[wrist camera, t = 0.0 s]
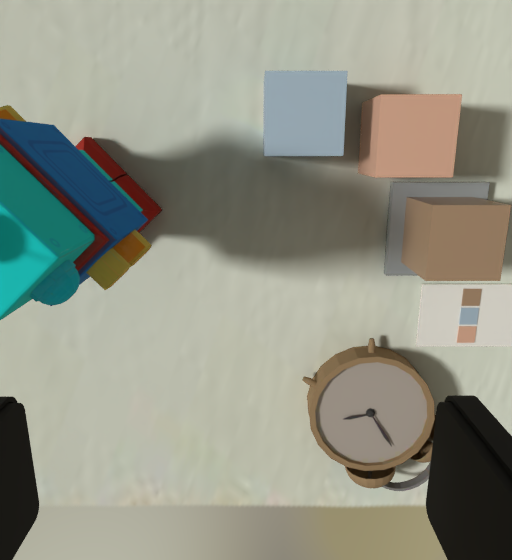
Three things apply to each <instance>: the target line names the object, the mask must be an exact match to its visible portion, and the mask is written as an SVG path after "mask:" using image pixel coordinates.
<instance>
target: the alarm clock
mask: <svg viewBox="0 0 512 560" xmlns="http://www.w3.org/2000/svg"><path fill="white" fill-rule="evenodd" d="M303 381H304V382H305V383H307V384H308V385H310V388H309V391H308V395H307V400H308V412H309V416H310V426H311V430H312V432H313V435H314V437H315V439H316V441H317V443H318V445H319V446H320V447H321V448H322V449H323V451H324V452H325V453H326V454H327V455H328V456H329V457H330V458H331V459H333V460H335V461H337V462H339V463H340V464H342V465H344V466H345V468H346V471H347V473H348V475H349V477H350V478H351V479H352V480H353V481H354V482H355V483H356V484H358V485H360V486H363V487H366V488H379V487H384V488H386V489H389V490H394V491H405V490H409V489H413V488H415V487H418V486H420V485H421V484H423V483H424V482H425V481H427V480H428V479H429V472H430V463H431V455H432V446H433V437H434V429H435V420H436V415H435V414H434V400H433V398H432V395H431V393H430V390H429V388H428V385H427V384H426V383H425V381H424V380H423V379H422V378H421V377H420V375H419V373H418V372H417V370H416V369H415V368H414V367H413V366H412V365H411V364H410V362H409V361H408V360H407V359H406V358H405V357H403V356H401V355H400V354H398V353H396V352H394V351H392V350H391V349H387V348H382V347H377V346H375V341H374V339H373V338H370V339H369V344H368V346H361V347H353V348H350V349H348V350H345V351H343V352H340V353H338V354H335V355H334V356H333V357H332V358H330V359H329V360H328V361H327V362H325V363H324V364H323V365H322V366H321V367H320V368H319V370H318V371H317V373H316V374H315V376H314V377H313V379H311V378H308V377H303ZM409 458H411V459H413V460H415V461H418V462H430V463H429V465H428V467H427V468H426V469H425V470H424V471H423V472H422V473H421V474H420V475H418V476H417V477H415V478H413V479H411V480H408V481H404V482H400V483H393V482H390V481H391V480H392V478H393V476H394V473H395V468H396V467H395V466H396V465H399V464H402V463H404V462H405V461H406V460H408V459H409Z"/></svg>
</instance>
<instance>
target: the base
mask: <svg viewBox="0 0 512 560" xmlns="http://www.w3.org/2000/svg"><path fill="white" fill-rule="evenodd" d="M489 183H490V182H391V185H390V198H389V211H388V225H387V238H386V251H385V264H384V274H385V275H418V276H420V277H421V278H422V279H424V280H425V281H500V279H501V272H502V265H503V258H504V251H505V244H506V238H507V231H508V224H509V217H510V210H511V205H508V204H503V203H499V202H494V201H489V200H487V198H488V191H489Z"/></svg>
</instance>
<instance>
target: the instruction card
mask: <svg viewBox="0 0 512 560" xmlns="http://www.w3.org/2000/svg"><path fill="white" fill-rule="evenodd" d="M416 346H512V284H422V288H421V298H420V308H419V318H418V328H417V338H416Z"/></svg>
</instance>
